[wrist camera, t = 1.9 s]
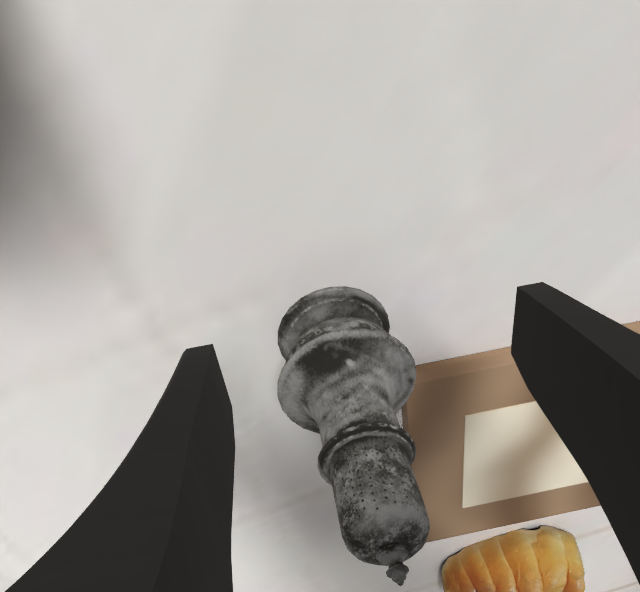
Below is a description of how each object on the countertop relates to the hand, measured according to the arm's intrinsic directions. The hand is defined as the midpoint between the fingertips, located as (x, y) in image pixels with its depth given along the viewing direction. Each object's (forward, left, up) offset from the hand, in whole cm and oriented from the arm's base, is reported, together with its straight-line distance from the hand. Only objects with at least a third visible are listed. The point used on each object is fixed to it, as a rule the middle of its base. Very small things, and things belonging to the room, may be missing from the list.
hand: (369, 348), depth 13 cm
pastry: (-10, +31, -11) cm, 34 cm away
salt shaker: (0, +8, -11) cm, 13 cm away
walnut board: (-10, +18, -10) cm, 23 cm away
